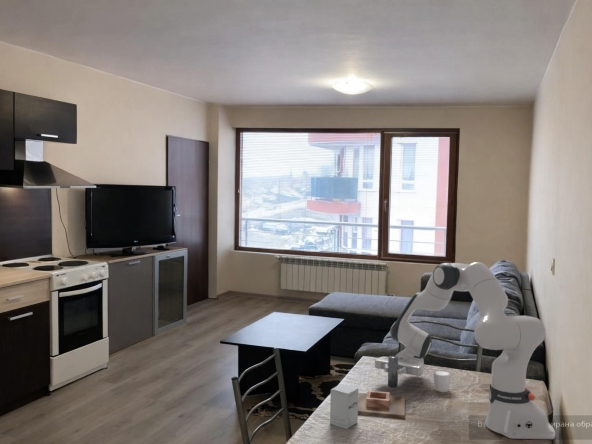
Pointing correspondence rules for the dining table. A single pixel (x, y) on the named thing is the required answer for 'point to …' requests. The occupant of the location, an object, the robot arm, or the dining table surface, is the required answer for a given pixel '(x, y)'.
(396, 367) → the peg
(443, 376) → the shot glass
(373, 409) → the keeper board
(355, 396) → the supplement box
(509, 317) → the robot arm
